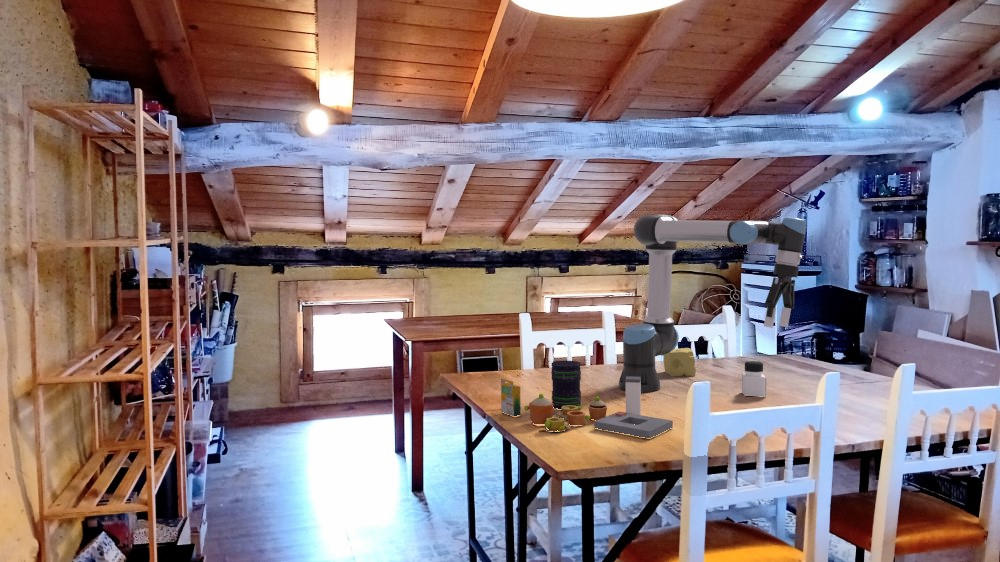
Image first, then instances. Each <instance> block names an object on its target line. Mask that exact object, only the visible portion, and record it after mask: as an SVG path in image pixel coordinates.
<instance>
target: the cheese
mask: <svg viewBox="0 0 1000 562" xmlns="http://www.w3.org/2000/svg"><path fill="white" fill-rule="evenodd" d="M695 364H696V358H695V356H694V352H693V350H692V349H691V348H689V347H684V348H683V347H681V348H675V349H674V350H672V351H671V352H669V353H667V354H665V355H663V367H664V372H665V373H667V375H669V376H670V377H682V376H686V377H695V376H696V375H697V374H696V372H697V370H696V366H695Z"/></svg>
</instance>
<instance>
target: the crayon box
mask: <svg viewBox="0 0 1000 562" xmlns="http://www.w3.org/2000/svg"><path fill="white" fill-rule="evenodd" d="M505 382H506V383H505ZM500 386H501V389H500V390H501V392H500V395H501V398H500V399H501V400H500V401H501V403H500V404H501V405H500V406H501V408H500V409H501V412H504V413H506V414H509V415H512V416H517V415H521V412H522V411H521V386H520V385H515V384H514V381H512V380H508V379H506V378H505V379H504V378H503V377H502V378H500Z"/></svg>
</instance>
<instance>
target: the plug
mask: <svg viewBox="0 0 1000 562" xmlns="http://www.w3.org/2000/svg"><path fill="white" fill-rule="evenodd" d="M641 394H642V392H641V377H632V376H626V390H625V412H626V413H631V414H637V415H642V395H641Z"/></svg>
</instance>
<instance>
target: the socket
mask: <svg viewBox="0 0 1000 562" xmlns="http://www.w3.org/2000/svg"><path fill="white" fill-rule="evenodd" d="M673 421H674V420H671V419H666V418H659V417H655V416H654V417H653V416H647V415H642V414H641V415H637V414H631V413H626V411H625V412H624V411H617V412H615V413H612V414H610V415H606V417H604V418H601V419H599V420H596V421H593V422H594V429H595V428H598V429H602V430H608V431H614V432H619V433H624V434H630V435H634V436H639V437H645V438H651V437H653V436H656V435H658V434H660V433H662V432H664V431H666V430H668V429H670V428H673V425H674V424H673V423H674V422H673ZM634 424H635V425H634ZM673 429H674V428H673Z"/></svg>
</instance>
